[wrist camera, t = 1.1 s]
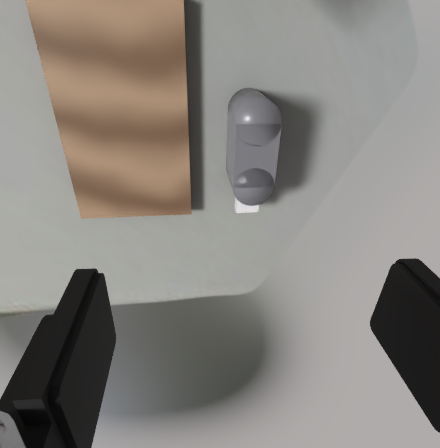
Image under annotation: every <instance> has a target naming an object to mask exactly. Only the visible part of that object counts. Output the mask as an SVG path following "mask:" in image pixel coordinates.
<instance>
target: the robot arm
mask: <svg viewBox="0 0 440 448" xmlns="http://www.w3.org/2000/svg"><path fill="white" fill-rule="evenodd" d="M370 327H371V330H372V332H373V333H374V335H375V336H376V338H377V340H378V341H379V343H380V344H381V346H382V347H383V349H384V350H385V352H386V354H387V355H388V357H389V358H390V360H391V361H392V363H393V364H394V366H395V367H396V369H397V371H398V372H399V374H400V376H401V377H402V379H403V380H404V382H405V383H406V385H407V386H408V388H409V390H410V391H411V393H412V394H413V396H414V397H415V399H416V401H417V402H418V404H419V405H420V407H421V408H422V410H423V412H424V413H425V415H426V416H427V418H428V419H429V421H430V423H431V424H432V426H433V427H434V428H435V430H437V431H438V432H440V278H439V277H438V276H437V275H436V274H434V273H433V272H432V271H431V270H430V269H429V268H428V267H427V266H426V265H425V264H424V263H423V262H422V261H420V260H419V259H399V260H397V261H396V263H395V264H393V265H392V266H391V268H390V270H389V273H388V276H387V278H386V281H385V283H384V286H383V289H382V291H381V294H380V297H379V299H378V302H377V304H376V307H375V310H374V312H373V315H372V317H371V320H370ZM115 343H116V333H115V327H114V323H113V317H112V312H111V307H110V302H109V297H108V292H107V287H106V281H105V277H104V274H103V273H98V271H97V269H77V270H75V272H74V273H73V275H72V278H71V280H70V282H69V284H68V286H67V288H66V290H65V292H64V294H63V296H62V298H61V300H60V302H59V304H58V306H57V309H56V311H55V313H54V315H46V316H45V317H44V318H43V319H42V320H41V322H40V324H39V326H38V327H37V329H36V331H35V333H34V335H33V337H32V339H31V341H30V343H29V345H28V347H27V349H26V351H25V353H24V355H23V356H22V359H21V360H20V363H19V364H18V366H17V368H16V370H15V372H14V374H13V376H12V378H11V380H10V382H9V383H8V386H7V387H6V389H5V391H4V393H3V395H2V397H1V399H0V448H91V446H92V442H93V437H94V434H95V429H96V425H97V421H98V416H99V412H100V408H101V403H102V399H103V395H104V391H105V386H106V382H107V378H108V374H109V369H110V365H111V360H112V356H113V351H114V348H115Z"/></svg>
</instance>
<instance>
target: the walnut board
mask: <svg viewBox="0 0 440 448" xmlns="http://www.w3.org/2000/svg"><path fill="white" fill-rule="evenodd" d="M25 1H26V5H27V9H28V13H29V16H30V20H31V24H32V28H33V32H34V36H35V40H36V44H37V48H38V51H39V55H40V59H41V63H42V67H43V71H44V75H45V79H46V83H47V87H48V90H49V94H50V98H51V102H52V106H53V110H54V114H55V118H56V122H57V126H58V129H59V133H60V137H61V141H62V145H63V149H64V153H65V157H66V161H67V164H68V168H69V172H70V176H71V180H72V184H73V188H74V192H75V196H76V200H77V203H78V207H79V211H80V215H81V218H106V217H131V216H156V215H181V214H191V186H190V159H189V131H188V104H187V76H186V49H185V22H184V0H25Z"/></svg>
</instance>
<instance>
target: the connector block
mask: <svg viewBox="0 0 440 448" xmlns="http://www.w3.org/2000/svg"><path fill="white" fill-rule="evenodd" d="M281 128H282V116H281V112H280V110H279V109H278V107H277V106H276V105H275V104H274V103H273V102H271V101H270V100H269V99H268V98H267V97H265V96H264V95H263V94H262V93H261V92H259V91H258V90H256V89H253V88H245V89H242V90H240V91H238V92H236V93H235V94H234V95H233V97H232V98H231V100H230V102H229V105H228V120H227V154H226V170H227V173H228V177H229V180H230V183H231V186H232V189H233V192H234V195H235V210H236V213H245V212H258V208H259V204H262V203H264V202H265V201H266V200H268V199H269V198H270V196H271V195H272V193H273V190H274V185H275V177H276V169H277V161H278V152H279V144H280V136H281Z"/></svg>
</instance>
